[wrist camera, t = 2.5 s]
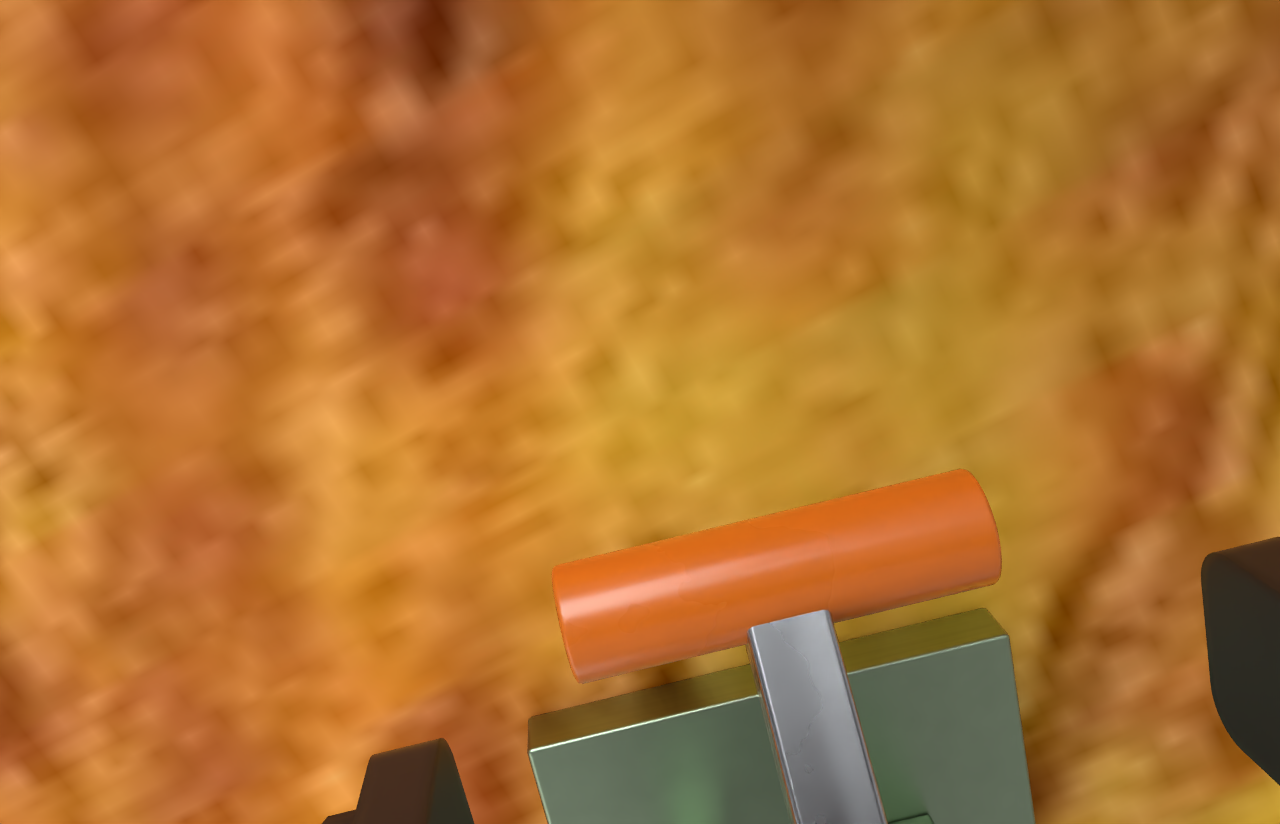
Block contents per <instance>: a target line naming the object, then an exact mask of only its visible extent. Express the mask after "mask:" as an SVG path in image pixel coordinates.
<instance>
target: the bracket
mask: <svg viewBox="0 0 1280 824" xmlns="http://www.w3.org/2000/svg"><path fill="white" fill-rule="evenodd" d="M839 645H840V648H841V652H842V656H843V660H844V663H845V667H846V671H847V674H848V678H849V682H850V685H851V689H852V693H853V696H854V700H855V704H856V708H857V711H858V715H859V719H860V722H861V726H862V730H863V733H864V737H865V741H866V744H867V748H868V752H869V755H870V759H871V763H872V767H873V770H874V774H875V778H876V781H877V785H878V789H879V792H880V796H881V800H882V803H883V807H884V811H885V815H886V818H887V822H888V824H1036V823H1035V816H1034V809H1033V802H1032V795H1031V788H1030V780H1029V773H1028V766H1027V759H1026V752H1025V745H1024V738H1023V731H1022V724H1021V717H1020V710H1019V703H1018V696H1017V688H1016V681H1015V674H1014V667H1013V660H1012V653H1011V646H1010V639H1009V635H1008V634H1007V632H1006V631H1005V630H1004V629H1003V628H1002V627H1001V625H1000V624H999V623H998V622H997V621H996V619H995V618H994V617H993V616H992V615H991V614H990V612H989V611H988V610H987V609H986V608H980V609H976V610H972V611H968V612H963V613H959V614H955V615H951V616H947V617H943V618H939V619H934V620H930V621H926V622H922V623H918V624H914V625H910V626H906V627H901V628H897V629H893V630H889V631H885V632H881V633H877V634H872V635H868V636H864V637H860V638H856V639H852V640H848V641H843V642H839ZM527 753H528V756H529V760H530V763H531V767H532V770H533V774H534V777H535V781H536V784H537V788H538V791H539V795H540V798H541V802H542V805H543V809H544V812H545V815H546V819H547V822H548V824H790V820H789V816H788V812H787V808H786V804H785V800H784V796H783V792H782V789H781V785H780V781H779V777H778V773H777V769H776V765H775V761H774V757H773V753H772V749H771V745H770V741H769V737H768V733H767V729H766V725H765V721H764V717H763V713H762V709H761V705H760V701H759V697H758V693H757V689H756V685H755V681H754V677H753V673H752V669H751V665H750V664H748V665H744V666H740V667H736V668H732V669H727V670H723V671H719V672H715V673H711V674H707V675H703V676H698V677H694V678H690V679H686V680H682V681H678V682H674V683H670V684H665V685H661V686H657V687H653V688H649V689H645V690H641V691H636V692H632V693H628V694H624V695H620V696H616V697H612V698H607V699H603V700H599V701H595V702H591V703H587V704H583V705H578V706H574V707H570V708H566V709H562V710H558V711H554V712H549V713H545V714H541V715H537V716H533V717H531V718H529V720H528V749H527Z"/></svg>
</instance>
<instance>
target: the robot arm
mask: <svg viewBox="0 0 1280 824" xmlns="http://www.w3.org/2000/svg"><path fill="white" fill-rule="evenodd" d="M1201 584H1202V595H1203V605H1204V616H1205V627H1206V638H1207V649H1208V660H1209V671H1210V682H1211V690H1212V695H1213V699H1214V702H1215V705H1216V708H1217V711H1218V714H1219V716H1220V718H1221V720H1222V722H1223V724H1224V726H1225V728H1226V730H1227V732H1228V733H1229V735H1230V736H1231V738H1232V739H1233V740H1234V742H1235V743H1236V744H1237V745H1238V746H1239V748H1240V749H1241V750H1242V751H1243V752H1245V753H1246V754H1247V755H1248V756H1249V757H1250V758H1251V759H1252V760H1253V761H1254V762H1255V763H1256V764H1257V765H1258V766H1260V767H1261V768H1262V769H1263V770H1264V771H1265V772H1266V773H1267V774H1268V775H1269V776H1270V777H1271V778H1272V779H1273V780H1275V781H1276V782H1277V783H1278V784H1279V785H1280V537H1275V538H1271V539H1267V540H1263V541H1259V542H1255V543H1251V544H1247V545H1243V546H1238V547H1234V548H1230V549H1226V550H1222V551H1218V552H1214V553H1211V554H1209V555H1207V556H1206V558H1205V559H1204V561H1203V564H1202V569H1201ZM322 824H474V821H473V818H472V815H471V812H470V808H469V805H468V802H467V799H466V795H465V792H464V789H463V786H462V782H461V779H460V776H459V773H458V769H457V766H456V763H455V760H454V757H453V754H452V752H451V749H450V747H449V745H448V743H447V742H446V740H445V739H443V738H440V739H436V740H432V741H428V742H423V743H419V744H415V745H411V746H407V747H403V748H399V749H395V750H390V751H386V752H382V753H378V754H374V755H372V756H371V758H370V760H369V763H368V766H367V770H366V774H365V778H364V782H363V785H362V789H361V793H360V797H359V801H358V804H357V808H356V810H353V811H348V812H344V813H340V814H336V815H332V816H328V817H327V818H326V819H325V821H324V822H323V823H322Z"/></svg>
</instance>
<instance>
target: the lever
mask: <svg viewBox="0 0 1280 824" xmlns="http://www.w3.org/2000/svg"><path fill="white" fill-rule="evenodd" d="M1001 568H1002V558H1001V547H1000V541H999V536H998V531H997V527H996V523H995V520H994V517H993V514H992V511H991V508H990V505H989V503H988V500H987V498H986V496H985V494H984V492H983V490H982V488H981V486H980V485H979V483H978V482H977V480H976V479H975V477H974V476H973V475H972V474H971V473H970V472H969V471H967V470H964V469H957V470H953V471H949V472H945V473H940V474H936V475H932V476H928V477H924V478H919V479H915V480H911V481H907V482H903V483H899V484H894V485H890V486H886V487H882V488H878V489H874V490H869V491H865V492H861V493H857V494H853V495H848V496H844V497H840V498H836V499H832V500H828V501H823V502H819V503H815V504H811V505H807V506H802V507H798V508H794V509H790V510H786V511H782V512H777V513H773V514H769V515H765V516H761V517H756V518H752V519H748V520H744V521H740V522H736V523H731V524H727V525H723V526H719V527H715V528H710V529H706V530H702V531H698V532H694V533H690V534H685V535H681V536H677V537H673V538H669V539H664V540H660V541H656V542H652V543H648V544H644V545H639V546H635V547H631V548H627V549H623V550H618V551H614V552H610V553H606V554H602V555H598V556H593V557H589V558H585V559H581V560H577V561H573V562H568V563H564V564H560V565H556V566H555V567H554V568H553V570H552V585H553V592H554V599H555V604H556V610H557V615H558V620H559V624H560V629H561V633H562V637H563V641H564V645H565V649H566V653H567V657H568V660H569V663H570V667H571V669H572V672H573V675H574V677H575V679H576V680H577V682H578V683H582V684H583V683H588V682H592V681H596V680H600V679H604V678H608V677H613V676H617V675H621V674H625V673H629V672H633V671H637V670H642V669H646V668H650V667H654V666H658V665H662V664H666V663H671V662H675V661H679V660H683V659H687V658H691V657H695V656H700V655H704V654H708V653H712V652H716V651H720V650H724V649H729V648H733V647H737V646H741V645H746V649H747V653H748V657H749V661H750V665H751V669H752V673H753V677H754V681H755V685H756V689H757V693H758V697H759V701H760V705H761V709H762V713H763V717H764V721H765V725H766V729H767V733H768V737H769V741H770V745H771V749H772V753H773V757H774V761H775V765H776V769H777V773H778V777H779V781H780V785H781V789H782V792H783V796H784V800H785V804H786V808H787V812H788V816H789V820H790V824H888V822H887V818H886V815H885V811H884V807H883V803H882V800H881V796H880V792H879V789H878V785H877V781H876V778H875V774H874V770H873V767H872V763H871V759H870V755H869V752H868V748H867V744H866V741H865V737H864V733H863V730H862V726H861V722H860V719H859V715H858V711H857V708H856V704H855V700H854V696H853V693H852V689H851V685H850V682H849V678H848V674H847V671H846V667H845V663H844V660H843V656H842V652H841V648H840V645H839V641H838V637H837V634H836V630H835V626H834V623H836V622H841V621H845V620H849V619H853V618H857V617H861V616H865V615H870V614H874V613H878V612H882V611H886V610H890V609H894V608H899V607H903V606H907V605H911V604H915V603H919V602H923V601H928V600H932V599H936V598H940V597H944V596H948V595H952V594H957V593H961V592H965V591H969V590H973V589H977V588H981V587H986V586H990V585H993V584H995V583H996V582H997V581H998V580H999V578H1000V575H1001Z"/></svg>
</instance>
